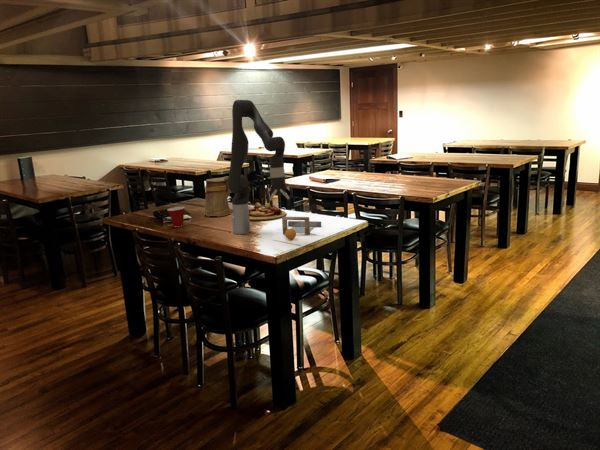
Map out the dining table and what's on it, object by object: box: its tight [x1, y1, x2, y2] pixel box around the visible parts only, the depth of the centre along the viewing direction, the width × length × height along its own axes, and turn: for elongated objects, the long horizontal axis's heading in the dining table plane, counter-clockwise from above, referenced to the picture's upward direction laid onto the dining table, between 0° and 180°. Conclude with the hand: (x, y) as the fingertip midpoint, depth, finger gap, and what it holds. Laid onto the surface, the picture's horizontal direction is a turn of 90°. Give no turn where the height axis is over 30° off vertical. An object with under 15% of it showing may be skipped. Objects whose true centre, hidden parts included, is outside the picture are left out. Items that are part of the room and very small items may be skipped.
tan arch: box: [281, 216, 311, 236], centre depth 279 cm, size 3×15×10 cm, turn 74°
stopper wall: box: [287, 220, 322, 228], centre depth 297 cm, size 20×2×3 cm, turn 74°
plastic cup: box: [167, 206, 185, 227], centre depth 312 cm, size 11×11×12 cm
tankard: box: [203, 175, 232, 217], centre depth 342 cm, size 18×24×25 cm
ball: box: [284, 227, 297, 240], centre depth 270 cm, size 6×6×6 cm
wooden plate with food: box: [249, 202, 287, 223], centre depth 331 cm, size 32×32×8 cm
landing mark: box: [291, 227, 315, 234], centre depth 289 cm, size 13×13×1 cm
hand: (280, 206), depth 262 cm, fingers open, 8 cm apart
